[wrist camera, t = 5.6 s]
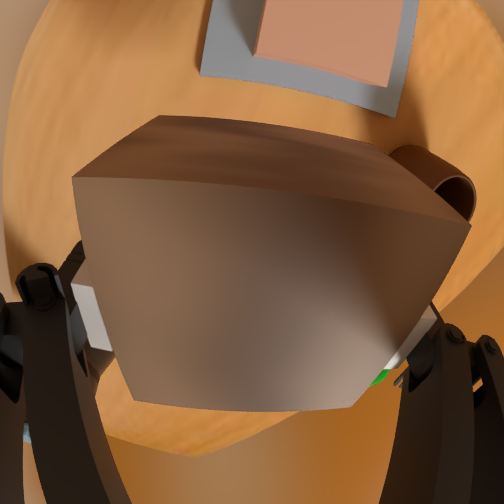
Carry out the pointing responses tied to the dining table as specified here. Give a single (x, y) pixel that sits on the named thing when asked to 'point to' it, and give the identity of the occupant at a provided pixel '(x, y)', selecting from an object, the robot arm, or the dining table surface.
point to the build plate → (245, 68)
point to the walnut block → (258, 261)
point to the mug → (439, 178)
